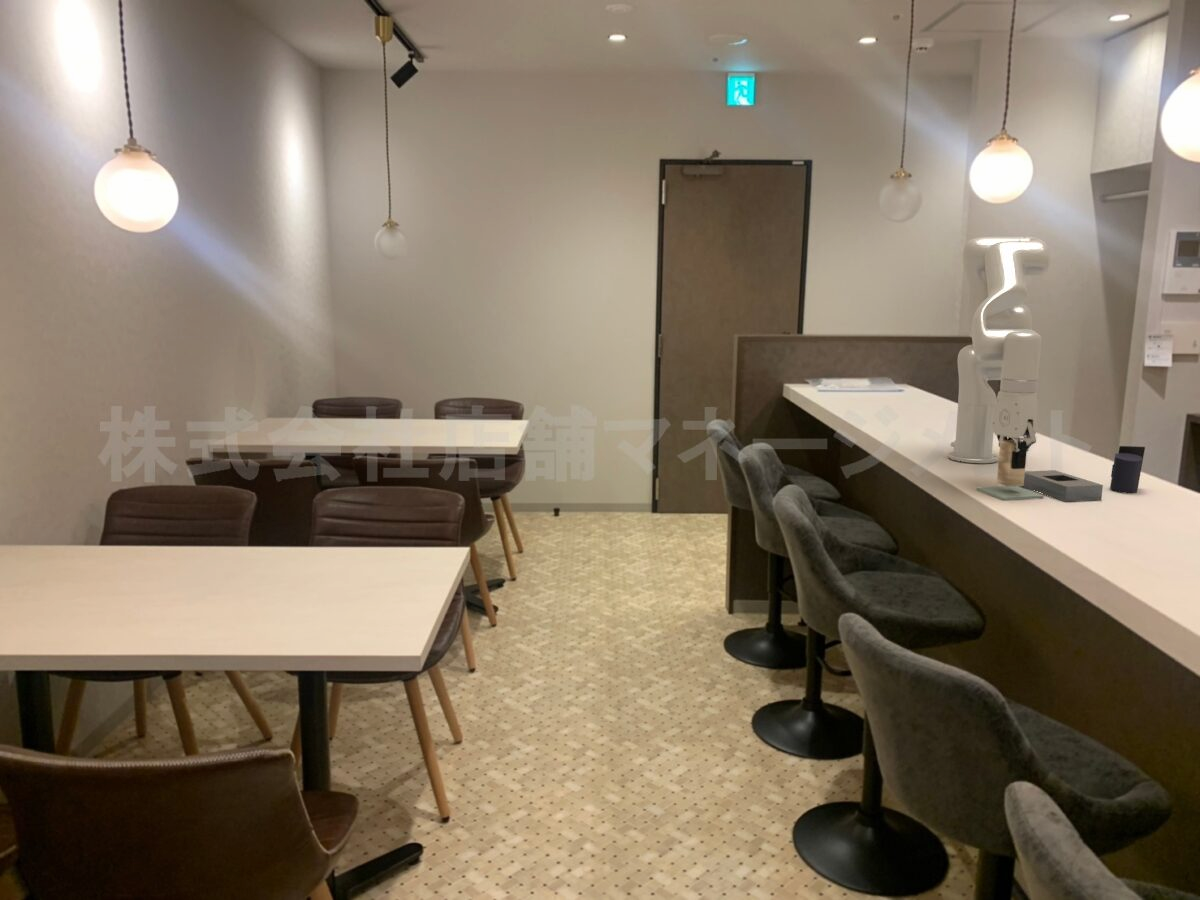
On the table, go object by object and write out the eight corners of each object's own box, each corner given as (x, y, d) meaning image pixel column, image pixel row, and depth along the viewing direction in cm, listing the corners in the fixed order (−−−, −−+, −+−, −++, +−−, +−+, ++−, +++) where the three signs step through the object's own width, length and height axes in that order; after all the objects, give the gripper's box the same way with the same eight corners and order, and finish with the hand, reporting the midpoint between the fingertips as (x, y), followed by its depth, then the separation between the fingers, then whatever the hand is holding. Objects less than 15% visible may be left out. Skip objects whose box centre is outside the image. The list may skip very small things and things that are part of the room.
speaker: (1110, 484, 210) (1116, 442, 207) (1138, 488, 207) (1145, 446, 204) (1107, 493, 204) (1114, 451, 201) (1136, 497, 201) (1143, 454, 198)
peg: (996, 482, 202) (1000, 440, 201) (1012, 481, 203) (1016, 439, 201) (1007, 486, 199) (1011, 443, 197) (1023, 485, 199) (1027, 442, 197)
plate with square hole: (1019, 485, 209) (1020, 471, 209) (1053, 484, 211) (1054, 470, 210) (1065, 502, 194) (1066, 486, 193) (1101, 500, 195) (1102, 484, 195)
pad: (976, 490, 205) (977, 487, 205) (1015, 488, 207) (1015, 485, 207) (1003, 500, 196) (1003, 497, 195) (1043, 498, 197) (1043, 495, 197)
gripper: (981, 383, 204) (975, 460, 207) (1027, 391, 188) (1020, 474, 191) (1010, 382, 205) (1004, 458, 209) (1058, 391, 189) (1050, 473, 193)
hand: (1011, 465), depth 200 cm, fingers closed on peg, 3 cm apart
